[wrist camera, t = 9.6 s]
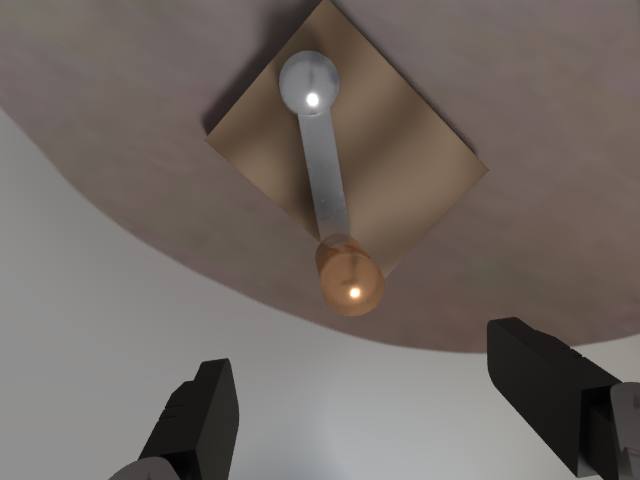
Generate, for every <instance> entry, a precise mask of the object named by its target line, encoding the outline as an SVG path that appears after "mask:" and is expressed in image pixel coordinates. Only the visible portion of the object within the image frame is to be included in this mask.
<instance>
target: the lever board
mask: <svg viewBox="0 0 640 480" xmlns="http://www.w3.org/2000/svg"><path fill="white" fill-rule="evenodd" d="M302 51H316V52H319V53H321V54H323V55H325V56H326V57H327V58H328V59H330V60H331V62H332V63H333V64H334V66H335V68H336V70H337V72H338V76H339V91H338V95H337V97H336V99H335V101H334V103H333V104H332V106H331V108H330V113H331V119H332V125H333V131H334V137H335V143H336V149H337V156H338V162H339V168H340V174H341V180H342V186H343V192H344V198H345V204H346V210H347V216H348V222H349V228H350V234H351V237H352V238H354V239H355V240H356V241H357V242H358V243H359V244H360V246H361V247H362V248H363V249H364V250H365V252H366V253H367V254H368V255H369V256H370V258H371V259H372V260H373V261H374V262H375V264H376V265H377V266H378V267H379V269H380V270H381V272H382V274H383V277H384V279H385V278H386V277H387V276H388V275H389V274H390V273H391V272H392V271H393V270H394V268H395V267H396V266H397V265H398V264H399V263H400V262H401V261H402V260H403V259H404V258H405V257H406V256H407V255H408V254H409V253H410V252H411V251H412V250H413V249H414V248H415V247H416V246H417V245H418V244H419V242H420V241H421V240H422V239H423V238H424V237H425V236H426V235H427V234H428V233H429V232H430V231H431V230H432V229H433V228H434V227H435V226H436V225H437V224H438V223H439V222H440V221H441V220H442V219H443V218H444V217H445V215H446V214H447V213H448V212H449V211H450V210H451V209H452V208H453V207H454V206H455V205H456V204H457V203H458V202H459V201H460V200H461V199H462V198H463V197H464V196H465V195H466V194H467V193H468V192H469V191H470V190H471V188H472V187H473V186H474V185H475V184H476V183H477V182H478V181H479V180H480V179H481V178H482V177H483V176H484V175H485V174H486V173H487V172H488V171H489V169H488V168H487V167H486V166H485V165H484V164H483V163H482V162H481V161H480V160H479V159H478V157H477V156H476V155H475V154H474V153H473V152H472V151H471V150H470V149H469V148H468V147H467V146H466V145H465V144H464V143H463V142H462V140H461V139H460V138H459V137H458V136H457V135H456V134H455V133H454V132H453V131H452V130H451V129H450V128H449V127H448V126H447V125H446V123H445V122H444V121H443V120H442V119H441V118H440V117H439V116H438V115H437V114H436V113H435V112H434V111H433V110H432V109H431V108H430V106H429V105H428V104H427V103H426V102H425V101H424V100H423V99H422V98H421V97H420V96H419V95H418V94H417V93H416V92H415V91H414V89H413V88H412V87H411V86H410V85H409V84H408V83H407V82H406V81H405V80H404V79H403V78H402V77H401V76H400V75H399V74H398V72H397V71H396V70H395V69H394V68H393V67H392V66H391V65H390V64H389V63H388V62H387V61H386V60H385V59H384V58H383V57H382V55H381V54H380V53H379V52H378V51H377V50H376V49H375V48H374V47H373V46H372V45H371V44H370V43H369V42H368V41H367V40H366V38H365V37H364V36H363V35H362V34H361V33H360V32H359V31H358V30H357V29H356V28H355V27H354V26H353V25H352V24H351V23H350V21H349V20H348V19H347V18H346V17H345V16H344V15H343V14H342V13H341V12H340V11H339V10H338V9H337V8H336V7H335V6H334V4H333V3H332V2H331V1H330V0H322V1H321V2H320V4H319V5H318V6H317V7H316V8H315V10H314V11H313V12H312V13H311V14H310V15H309V17H308V18H307V19H306V20H305V21H304V23H303V24H302V25H301V26H300V27H299V29H298V30H297V31H296V32H295V33H294V34H293V36H292V37H291V38H290V39H289V40H288V42H287V43H286V44H285V45H284V46H283V47H282V49H281V50H280V51H279V52H278V53H277V55H276V56H275V57H274V58H273V59H272V60H271V62H270V63H269V64H268V65H267V66H266V68H265V69H264V70H263V71H262V72H261V74H260V75H259V76H258V77H257V78H256V79H255V81H254V82H253V83H252V84H251V85H250V87H249V88H248V89H247V90H246V91H245V92H244V94H243V95H242V96H241V97H240V98H239V100H238V101H237V102H236V103H235V104H234V105H233V107H232V108H231V109H230V110H229V111H228V113H227V114H226V115H225V116H224V117H223V118H222V120H221V121H220V122H219V123H218V124H217V126H216V127H215V128H214V129H213V130H212V132H211V133H210V134H209V135H208V136H207V137H206V139H205V141H206V142H207V143H208V144H209V145H210V146H211V147H213V148H214V149H215V150H216V151H217V152H218V153H219V154H221V155H222V156H223V157H224V158H225V159H226V160H227V161H228V162H230V163H231V164H232V165H233V166H234V167H235V168H236V169H237V170H239V171H240V172H241V173H242V174H243V175H244V176H245V177H247V178H248V179H249V180H250V181H251V182H252V183H253V184H254V185H256V186H257V187H258V188H259V189H260V190H261V191H262V192H263V193H265V194H266V195H267V196H268V197H269V198H270V199H271V200H272V201H274V202H275V203H276V204H277V205H278V206H279V207H280V208H282V209H283V210H284V211H285V212H286V213H287V214H288V215H289V216H291V217H292V218H293V219H294V220H295V221H296V222H297V223H298V224H300V225H301V226H302V227H303V228H304V229H305V230H306V231H308V232H309V233H310V234H311V235H312V236H313V237H314V238H315V239H317V240H318V241H319V242H320V243H321V241H320V235H319V230H318V225H317V219H316V214H315V208H314V203H313V197H312V192H311V187H310V181H309V176H308V170H307V165H306V159H305V154H304V149H303V143H302V138H301V132H300V127H299V121H298V117H296V116H294V115H293V114H292V113H290V112H289V111H288V109H287V108H286V107H285V105H284V103H283V101H282V98H281V93H280V87H279V77H280V72H281V70H282V67H283V66H284V64H285V63H286V61H287V60H288V59H289V58H290V57H291V56H293V55H294V54H296V53H299V52H302Z"/></svg>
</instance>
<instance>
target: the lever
mask: <svg viewBox="0 0 640 480" xmlns="http://www.w3.org/2000/svg"><path fill="white" fill-rule="evenodd" d="M279 87H280V93H281V98H282V101H283V103H284V105H285V107H286V108H287V109H288V111H289V112H290V113H292V114H293V115H294V116H296V117H298V121H299V127H300V132H301V138H302V143H303V149H304V154H305V159H306V165H307V170H308V176H309V181H310V187H311V192H312V197H313V203H314V208H315V214H316V219H317V225H318V230H319V235H320V241H321V243H320V245H319V246H318V248H317V251H316V258H315V259H316V265H317V269H318V274H319V278H320V283H321V287H322V292H323V296H324V298H325V301H326V302H327V304H328V305H329V306H330V307H331V308H332V309H333V310H334V311H336V312H337V313H339V314H342V315H346V316H359V315H362V314H365V313H367V312H369V311H371V310H372V309H373V308H374V307H375V306H376V305H377V304H378V303H379V301H380V300H381V298H382V296H383V293H384V287H385V283H384V277H383V274H382V272H381V270H380V269H379V267H378V266H377V265H376V264H375V262H374V261H373V260H372V259H371V258H370V256H369V255H368V254H367V253H366V252H365V250H364V249H363V248H362V247H361V246H360V244H359V243H358V242H357V241H356V240H355V239H354V238H352V237H351V234H350V228H349V222H348V216H347V210H346V204H345V198H344V192H343V186H342V180H341V174H340V168H339V162H338V156H337V149H336V143H335V137H334V131H333V125H332V119H331V113H330V108H331V106H332V104H333V103H334V101H335V99H336V97H337V95H338V91H339V76H338V72H337V70H336V68H335V66H334V64H333V63H332V62H331V60H330V59H328V58H327V57H326V56H325V55H323V54H321V53H319V52H316V51H302V52H299V53H296V54H294V55H293V56H291V57H290V58H289V59H288V60H287V61H286V63H285V64H284V66H283V67H282V70H281V72H280V77H279Z"/></svg>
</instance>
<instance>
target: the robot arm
mask: <svg viewBox="0 0 640 480" xmlns="http://www.w3.org/2000/svg"><path fill="white" fill-rule="evenodd" d="M487 363H488V364H487V365H488V372H489V375H490V378H491V380H492V382H493V384H494V386H495V387H496V388H497V389H498V390H499V392H500V393H501V394H502V395H503V396H504V397H505V398H506V399H507V400H508V402H509V403H510V404H511V405H512V406H513V407H514V408H515V409H516V411H517V412H518V413H519V414H520V415H521V416H522V417H523V418H524V419H525V421H526V422H527V423H528V424H529V425H530V426H531V427H532V428H533V429H534V430H535V432H536V433H537V434H538V435H539V436H540V437H541V438H542V439H543V441H544V442H545V443H546V444H547V445H548V446H549V447H550V448H551V449H552V450H553V452H554V453H555V454H556V455H557V456H558V457H559V458H560V459H561V461H562V462H563V463H564V464H565V465H566V466H567V467H568V468H569V469H570V471H571V472H572V473H573V474H574V475H575V476H576V477H577V478H582V477H587V476H593V475H600V476H601V477H602V478H603V479H604V480H640V383H638V382H624V383H623V382H622V381H620V380H619V379H617V378H616V377H614V376H612V375H611V374H609V373H608V372H607V371H605V370H604V369H602V368H601V367H599V366H598V365H596V364H595V363H593V362H591V361H590V360H589V359H587V358H586V357H582V355H581V354H579V353H578V352H577V351H575V350H574V349H570V347H569V346H568V345H566V344H565V343H563V342H562V341H560V340H559V339H557V338H556V337H553V336H551V335H548V334H546V333H543V332H540V331H538V330H534V329H533V328H531V327H530V326H528V325H527V324H525V323H524V322H523V321H521V320H520V319H518V318H516V317H510V318H503V319H496V320H490V321H489V322H488V325H487ZM238 426H239V406H238V400H237V395H236V389H235V384H234V379H233V374H232V369H231V364H230V361H229V359H228V358H226V359H218V360H212V361H205V362H202V363H201V365H200V368H199V370H198V372H197V374H196V376H195V379H194V380H193V381H186V382H184V383H183V384H182V385H181V386H180V387H179V388H178V389H177V390H176V391H174V392H173V393H172V394H171V396H170V398H169V400H168V402H167V404H166V406H165V410H163V412H162V414H161V416H160V418H159V421H158V422H157V423H156V425H155V427H154V429H153V431H152V433H151V435H150V437H149V439H148V441H147V443H146V445H145V447H144V449H143V451H142V452H141V454H140V456H139V458H138V460H137V461H135V462H132V463H131V464H129V465H127V466H125V467H123V468H122V469H121V470H119V471H118V472H117V473H115V474H114V475H113V476H112V477H111V478H110V479H109V480H228V476H229V471H230V466H231V461H232V456H233V451H234V446H235V441H236V435H237V431H238Z"/></svg>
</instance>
